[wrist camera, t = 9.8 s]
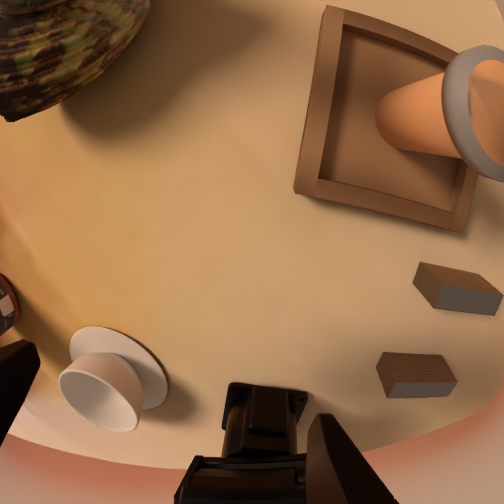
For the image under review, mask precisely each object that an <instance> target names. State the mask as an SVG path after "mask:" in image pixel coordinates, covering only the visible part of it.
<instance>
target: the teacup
mask: <svg viewBox="0 0 504 504" xmlns="http://www.w3.org/2000/svg"><path fill="white" fill-rule="evenodd" d="M69 351H70V357H71V360H72V364H71V365H69V366H68V367H67V368H66V369H65V370H64V371H63V372H62V373H61V375H60V377H59V387H60V391H61V393H62V395H63V397H64V398H65V400H66V401H67V403H68V404H69V405H70V406H71V407H72V408H73V409H74V410H75V411H76V412H77V413H78V414H79V415H80V416H82V417H83V418H84V419H86V420H87V421H89V422H90V423H92V424H94V425H96V426H98V427H100V428H102V429H105V430H108V431H111V432H116V433H127V432H131V431H133V430H134V429H135V428H136V427H137V426H138V423H139V419H140V415H141V412H142V410H148V409H153V408H155V407H157V406H159V405H160V404H162V403H163V402H164V400H165V399H166V396H167V393H168V384H167V380H166V377H165V374H164V372H163V371H162V369H161V367H160V366H159V364H158V363H157V362H156V360H155V359H154V358H153V357H152V356H151V355H150V354H149V353H148V352H147V351H146V350H145V349H144V348H143V347H142V346H140V345H139V344H138V343H136V342H135V341H133V340H132V339H130V338H128V337H127V336H125V335H123V334H121V333H119V332H116V331H114V330H111V329H107V328H103V327H85V328H82V329H80V330H78V331H77V332H76V333H75V334H74V335H73V337H72V338H71V341H70V346H69Z"/></svg>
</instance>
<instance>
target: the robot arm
mask: <svg viewBox="0 0 504 504" xmlns="http://www.w3.org/2000/svg"><path fill="white" fill-rule="evenodd" d="M40 364H41V362H40V358H39V355H38V351H37V348H36V345H35V344H34V342H32V341H30V340H27V339H22V340H19V341H17V342H14V343H12V344H9V345H6V346H4V347H1V348H0V447H1V445H2V443H3V441H4V438H5V437H6V434H7V433H8V431H9V429H10V427H11V425H12V423H13V421H14V419H15V417H16V416H17V414H18V412H19V410H20V408H21V406H22V405H23V403H24V401H25V399H26V396H27V394H28V392H29V390H30V387H31V385H32V383H33V381H34V379H35V376H36V374H37V372H38V370H39V368H40ZM234 388H236V389H234ZM301 397H303V398H301ZM307 401H308V394H307V393H306V392H301V391H292V390H283V389H275V388H268V387H261V386H254V385H247V384H241V383H235V382H233V383H230V384H229V386H228V391H227V397H226V403H225V409H224V415H223V421H222V429H223V430H226V431H225V437H224V443H223V449H222V455H221V457H203V456H200V455H195V457H194V459H193V461H192V463H191V464H190V466H189V468H188V470H187V472H186V474H185V476H184V478H183V480H182V482H181V484H180V486H179V487H178V489H177V491H176V494H175V495H174V504H399V503H398V501H397V500H396V499H394V496H393V495H392V494H391V493H390V491H389V490H388V489H387V487H386V486H385V485H384V483H383V482H382V481H381V479H380V478H379V477H378V475H377V474H376V473H375V471H374V470H373V469H372V467H371V466H370V465H369V464H368V462H367V461H366V459H365V458H364V457H363V455H362V454H361V453H360V451H359V450H358V449H357V447H356V446H355V445H354V443H353V442H352V440H351V439H350V438H349V436H348V435H347V434H346V432H345V431H344V430H343V428H342V427H341V425H340V424H339V423H338V421H337V420H336V418H335V417H334V416H333V415H332V414H331V413H318V414H317V415H316V416H315V418H314V420H313V422H312V424H311V426H310V428H309V431H308V442H307V453H302V454H297V432H296V425H297V423H298V421H299V419H300V417H301V414H302V412H303V410H304V408H305V405H306V403H307Z"/></svg>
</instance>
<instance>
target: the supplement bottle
mask: <svg viewBox="0 0 504 504" xmlns="http://www.w3.org/2000/svg"><path fill="white" fill-rule="evenodd" d="M18 317H19V306H18V302H17V299H16V296H15V294H14V291H13V289H12V288H11V286H10V285H9V283H8V282H7V281H6V279H4V277H3V276H1V275H0V336H2V335H3V334H4V333H5V332H6V331H7V330H8V329H10V328H11V327H12V326H13V325H14V324H15V323H16V322H17V320H18Z"/></svg>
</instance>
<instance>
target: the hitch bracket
mask: <svg viewBox="0 0 504 504" xmlns="http://www.w3.org/2000/svg"><path fill="white" fill-rule="evenodd" d="M413 284H414V285H415V287H416V288H417V289H418V290H419V291H420V292H421V294H422V295H423V296H424V297H425V299H426V300H427V301H428V302H429V303H430V305H431V306H432V307H433V308H434V309H442V310H450V311H458V312H466V313H475V314H484V315H493V316H495V314H496V311H497V309H498V307H499V305H500V303H501V300H502V298H503V296H504V295H503V294H502V293H501V292H499V291H498V290H497V289H496V288H495V287H494V286H492V285H491V284H490V283H489V282H488V281H486V280H485V279H484V278H483V277H482V276H480V275H479V274H475V273H471V272H466V271H461V270H457V269H452V268H447V267H443V266H438V265H433V264H428V263H423V262H420V263H419V266H418V269H417V272H416V275H415V278H414V280H413ZM376 369H377V372H378V374H379V377H380V380H381V383H382V385H383V388H384V391H385V394H386V397H387V398H426V397H444V396H449V394H450V393H451V391H452V390H453V388H454V387H455V385H456V384H457V382H458V381H457V380H456V378H455V376H454V375H453V373H452V371H451V370H450V368H449V366H448V365H447V363H446V362H445V360H444V358H443V357H442V355H423V354H403V353H388V352H383V354H382V356H381V358H380V360H379V362H378V364H377V366H376Z"/></svg>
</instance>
